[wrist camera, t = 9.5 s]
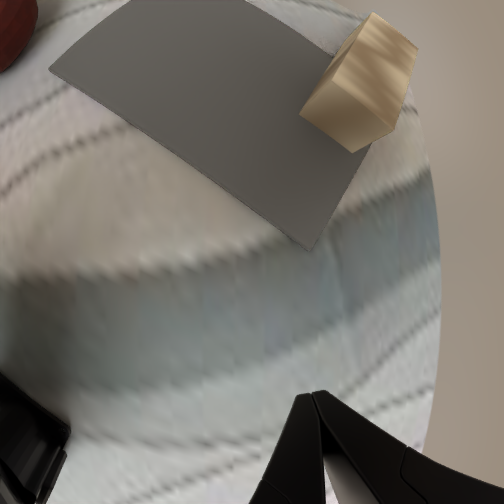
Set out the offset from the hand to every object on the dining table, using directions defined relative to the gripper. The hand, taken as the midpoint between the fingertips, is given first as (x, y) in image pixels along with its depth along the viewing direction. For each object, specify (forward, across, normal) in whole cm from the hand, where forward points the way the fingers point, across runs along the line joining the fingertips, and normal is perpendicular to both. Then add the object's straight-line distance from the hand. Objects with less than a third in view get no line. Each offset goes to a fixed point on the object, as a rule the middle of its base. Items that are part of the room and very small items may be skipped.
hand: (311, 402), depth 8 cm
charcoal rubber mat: (+14, -1, +13) cm, 19 cm away
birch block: (+12, +6, +8) cm, 15 cm away
